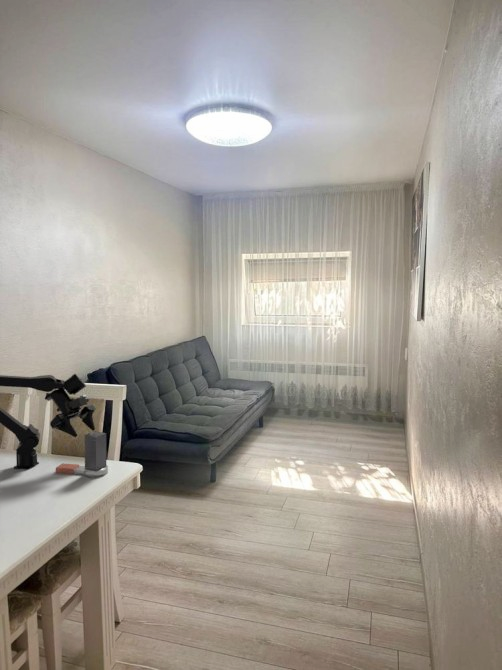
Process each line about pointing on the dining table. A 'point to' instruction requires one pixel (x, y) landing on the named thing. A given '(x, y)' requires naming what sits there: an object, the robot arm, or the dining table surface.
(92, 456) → the tall grey pillar
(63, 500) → the dining table surface
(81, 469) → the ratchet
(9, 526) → the dining table surface
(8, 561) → the dining table surface
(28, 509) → the dining table surface
